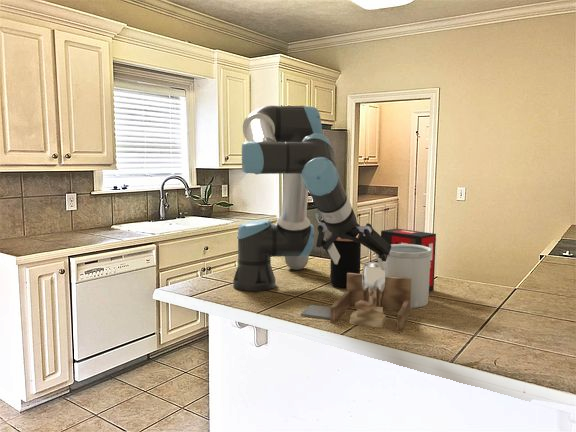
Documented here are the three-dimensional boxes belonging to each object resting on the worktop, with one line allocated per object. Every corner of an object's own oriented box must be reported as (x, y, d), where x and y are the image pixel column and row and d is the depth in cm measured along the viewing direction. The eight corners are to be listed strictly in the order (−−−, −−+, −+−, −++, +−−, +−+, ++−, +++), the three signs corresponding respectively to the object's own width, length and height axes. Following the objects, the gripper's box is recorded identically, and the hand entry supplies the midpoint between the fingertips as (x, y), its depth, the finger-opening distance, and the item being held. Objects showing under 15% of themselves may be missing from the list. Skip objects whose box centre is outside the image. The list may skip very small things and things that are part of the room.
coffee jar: (359, 281, 176) (360, 234, 173) (360, 289, 165) (361, 238, 163) (330, 281, 177) (331, 233, 174) (330, 288, 166) (330, 238, 164)
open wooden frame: (330, 322, 132) (331, 287, 130) (347, 303, 149) (347, 272, 148) (401, 332, 125) (402, 295, 123) (410, 311, 142) (411, 278, 141)
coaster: (300, 315, 137) (300, 313, 137) (310, 306, 146) (310, 304, 146) (330, 319, 134) (330, 317, 134) (338, 310, 142) (338, 308, 142)
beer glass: (386, 312, 140) (388, 263, 139) (383, 320, 134) (384, 268, 132) (363, 310, 143) (364, 261, 141) (359, 317, 136) (360, 266, 134)
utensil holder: (403, 311, 141) (405, 254, 139) (372, 298, 155) (373, 245, 152) (439, 304, 148) (442, 249, 146) (407, 292, 161) (408, 242, 159)
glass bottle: (283, 266, 200) (283, 200, 197) (307, 266, 201) (307, 200, 198) (285, 272, 190) (285, 203, 187) (310, 271, 191) (311, 202, 188)
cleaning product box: (433, 290, 164) (435, 233, 162) (418, 295, 159) (421, 236, 156) (394, 281, 177) (396, 228, 175) (379, 285, 171) (381, 230, 169)
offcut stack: (349, 323, 131) (350, 303, 130) (354, 318, 135) (354, 298, 135) (382, 328, 127) (383, 307, 127) (385, 322, 132) (386, 301, 132)
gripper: (286, 221, 117) (314, 268, 132) (382, 229, 104) (402, 281, 119) (297, 198, 121) (323, 247, 136) (391, 203, 108) (409, 256, 123)
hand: (360, 263), depth 127 cm, fingers open, 13 cm apart
